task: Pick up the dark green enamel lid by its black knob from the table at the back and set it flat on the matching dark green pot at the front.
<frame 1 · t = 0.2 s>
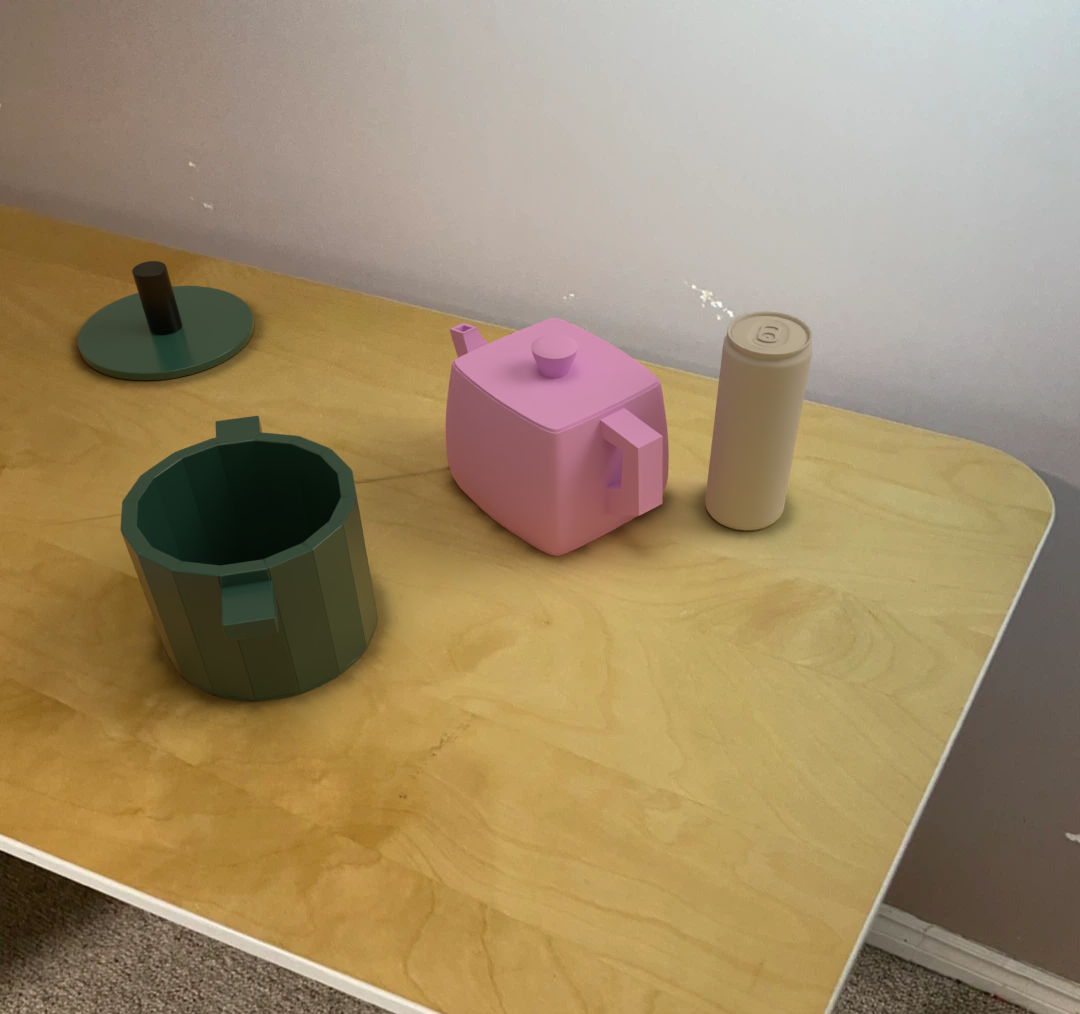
beverage can: (742, 514, 69), on the table
lid: (168, 334, 84), point 1 cm above the table
pot: (274, 628, 63), on the table
teapot: (552, 491, 71), on the table
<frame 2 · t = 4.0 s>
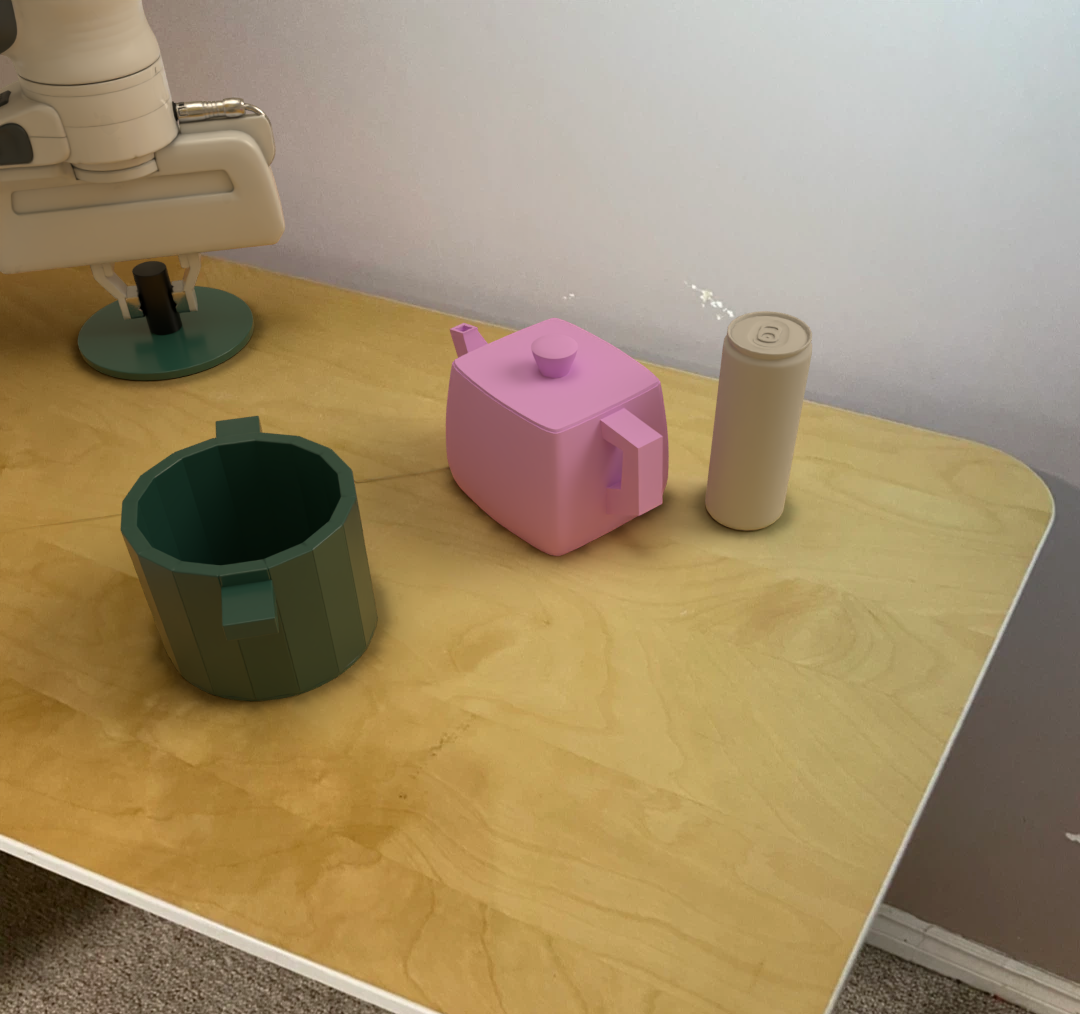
hand: (161, 312, 82), 2 cm above the table, tool pointing down, fingers closed on lid, 2 cm apart
lid: (168, 334, 84), point 1 cm above the table, touching gripper
everything else where it was.
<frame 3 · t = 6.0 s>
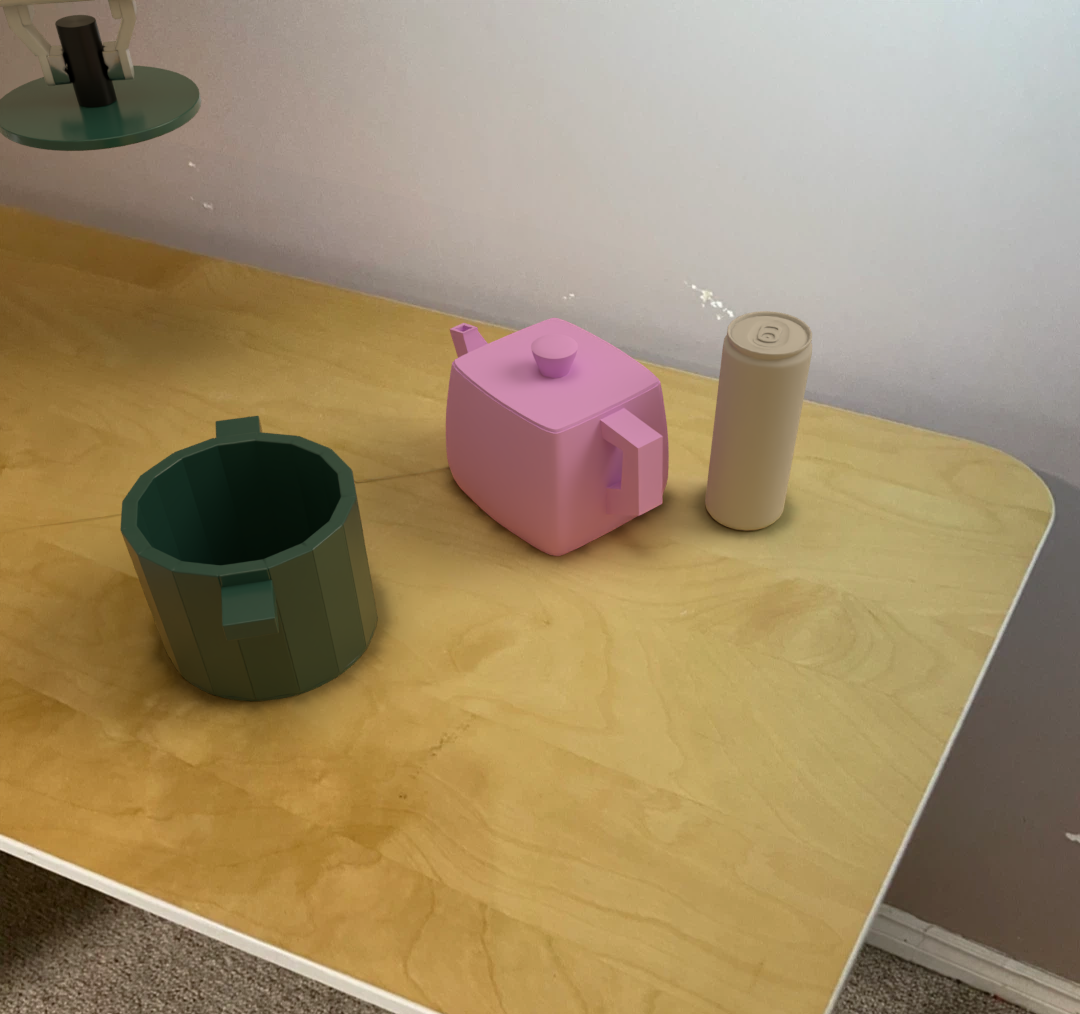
hand: (91, 79, 70), 18 cm above the table, tool pointing down, fingers closed on lid, 2 cm apart
lid: (100, 110, 72), point 16 cm above the table, touching gripper
everything else where it was.
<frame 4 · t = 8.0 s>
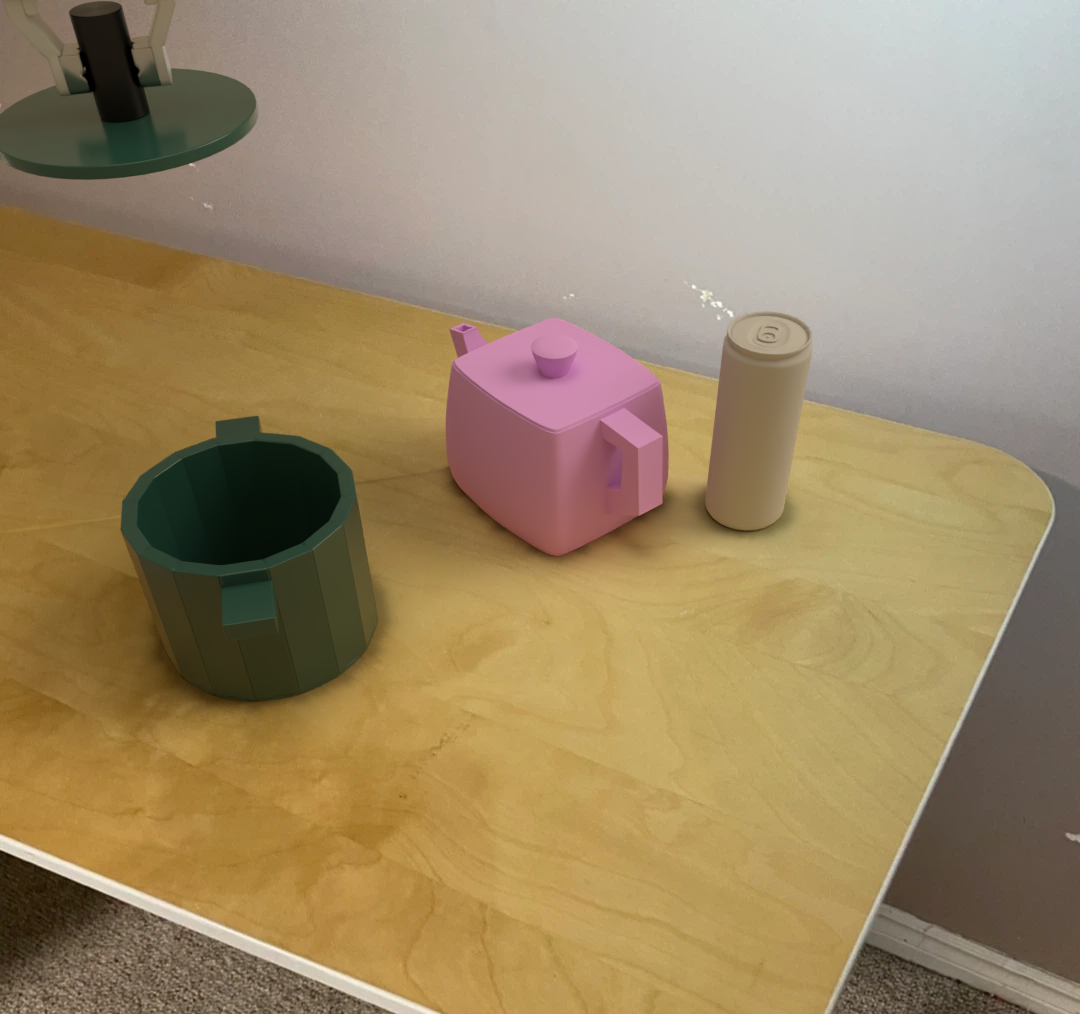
hand: (116, 87, 54), 24 cm above the table, tool pointing down, fingers closed on lid, 2 cm apart
lid: (128, 126, 55), point 22 cm above the table, touching gripper
everything else where it was.
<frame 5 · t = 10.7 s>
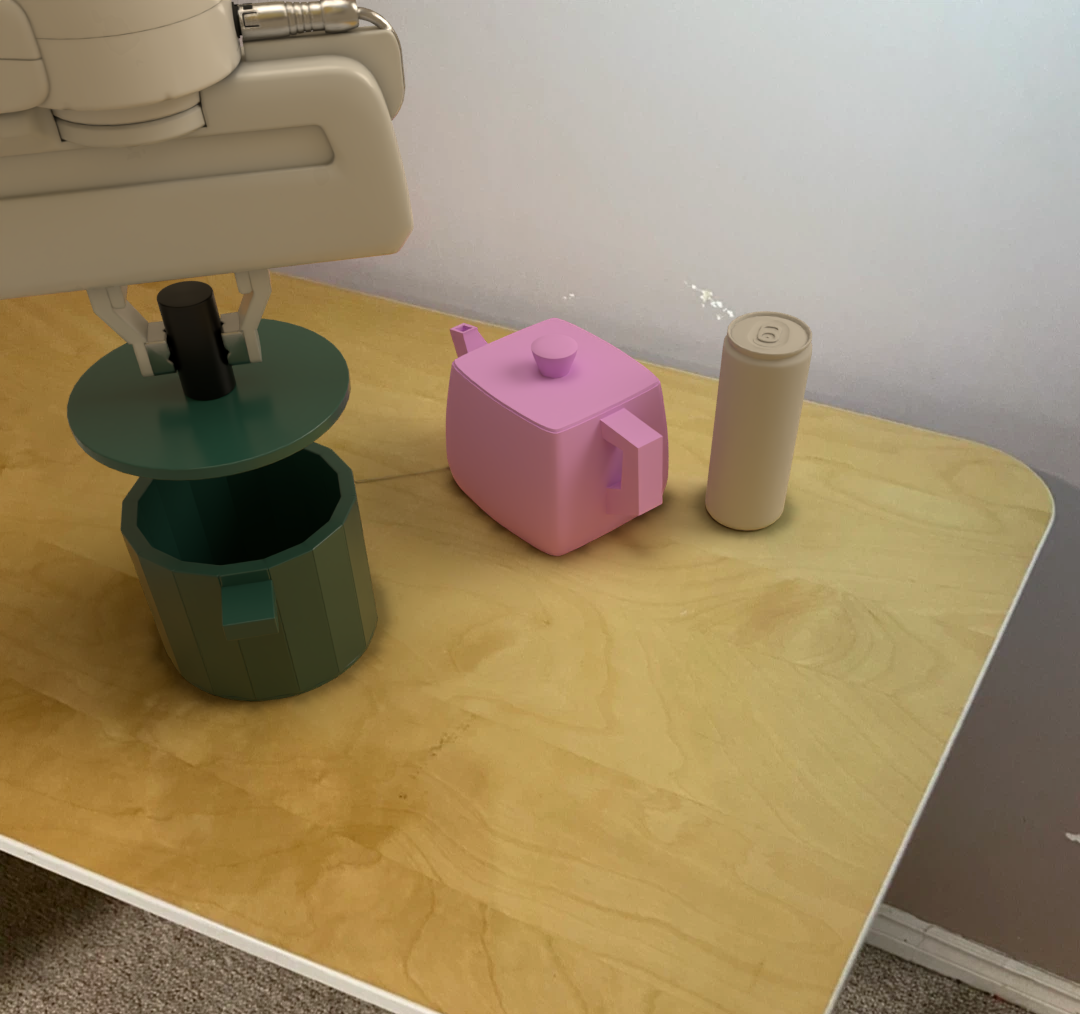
hand: (202, 363, 51), 16 cm above the table, tool pointing down, fingers closed on lid, 2 cm apart
lid: (212, 398, 52), point 15 cm above the table, touching gripper
everything else where it was.
when the fingers open (11 cm above the table, at t = 12.3 s): lid stays where it is, resting on pot.
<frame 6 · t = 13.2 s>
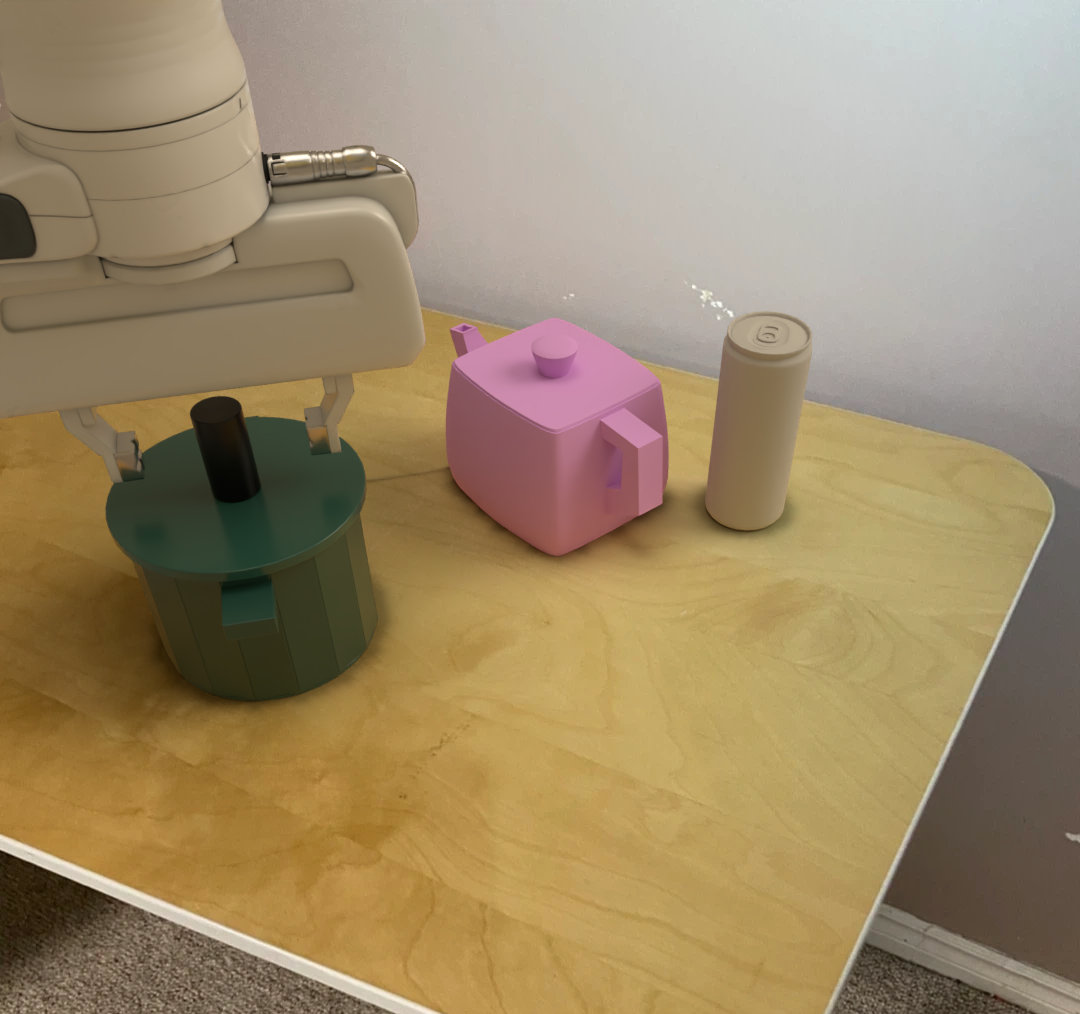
hand: (228, 461, 54), 11 cm above the table, tool pointing down, fingers open, 8 cm apart
lid: (239, 498, 56), point 9 cm above the table, touching pot
everything else where it was.
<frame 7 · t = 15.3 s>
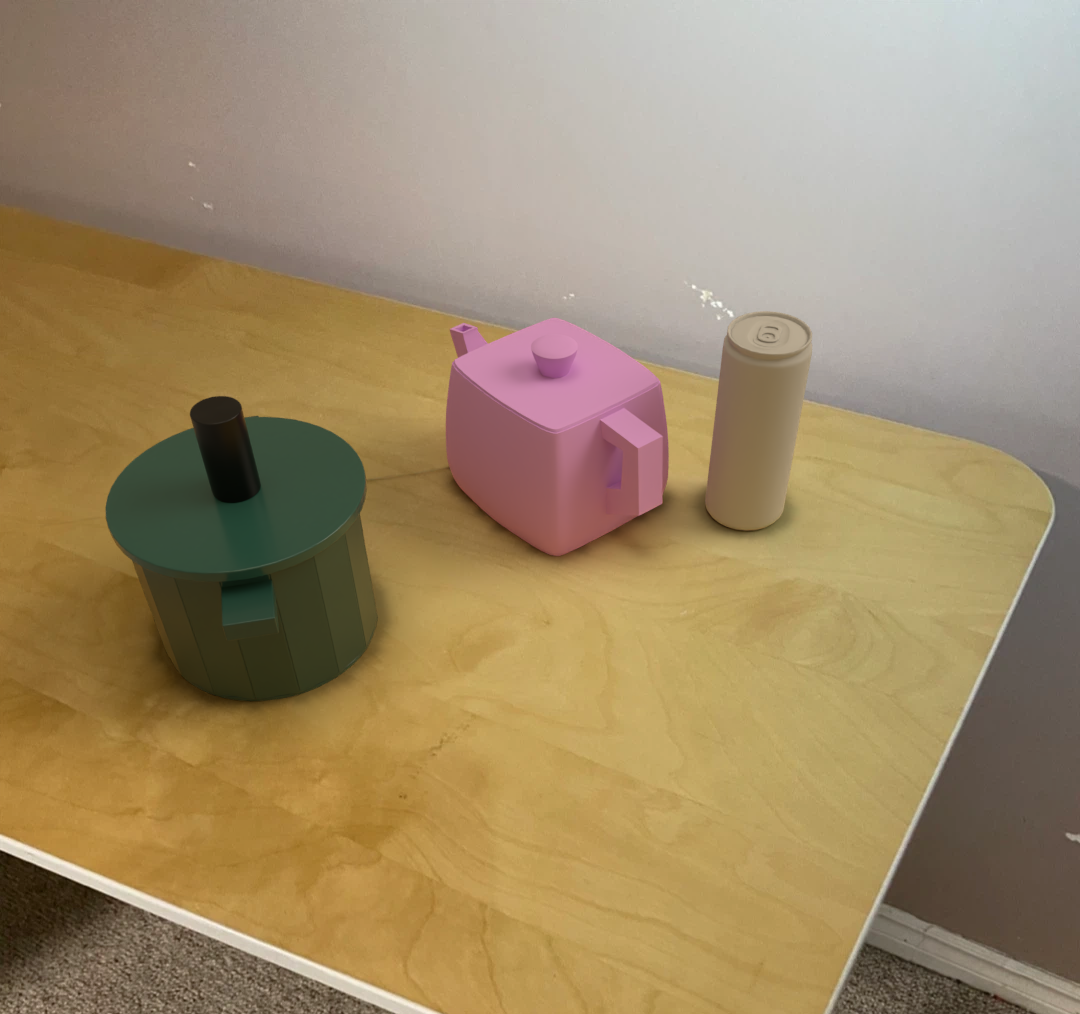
nothing on the table moved.
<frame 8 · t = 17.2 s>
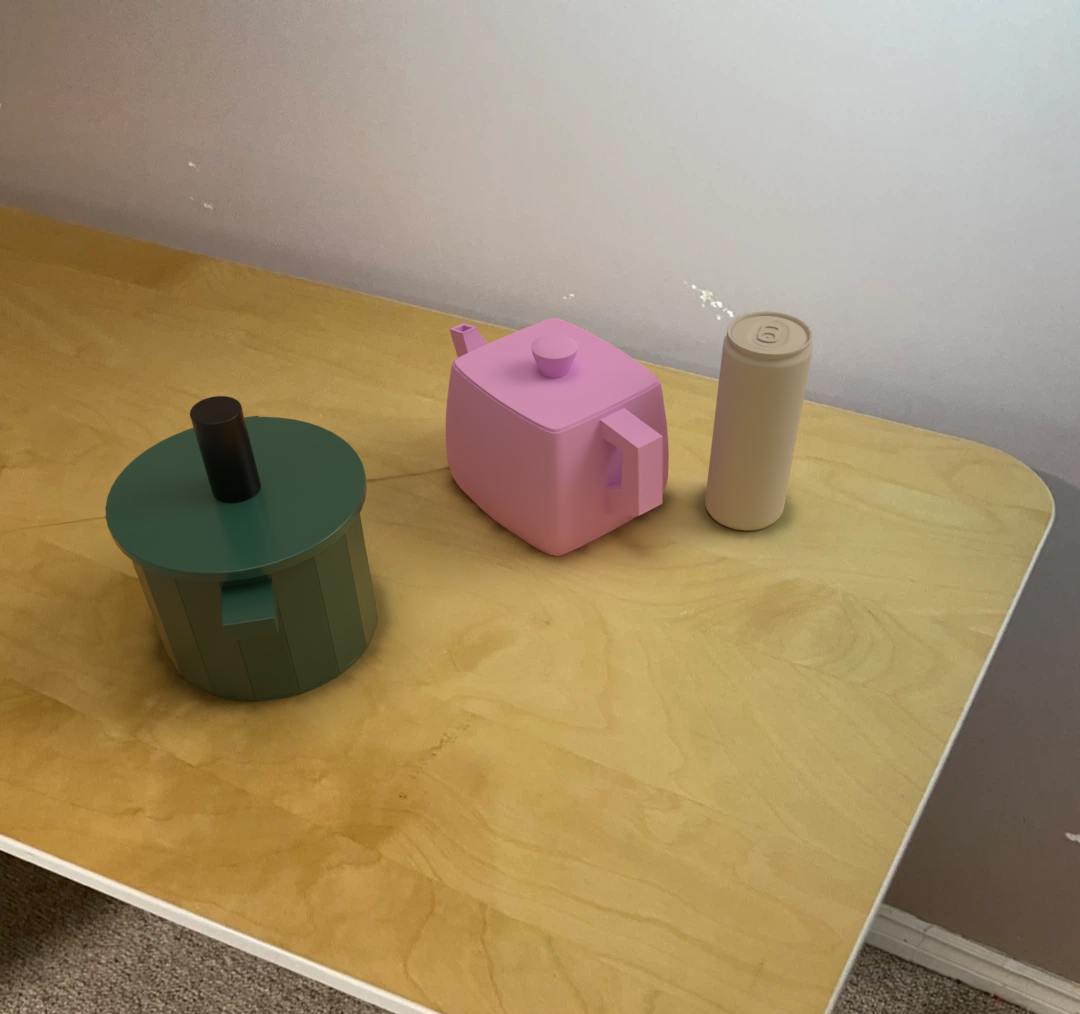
nothing on the table moved.
at the end: lid 0.0 cm off-centre on the pot, point 9.0 cm above the pot's base; lid tilted 0° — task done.
